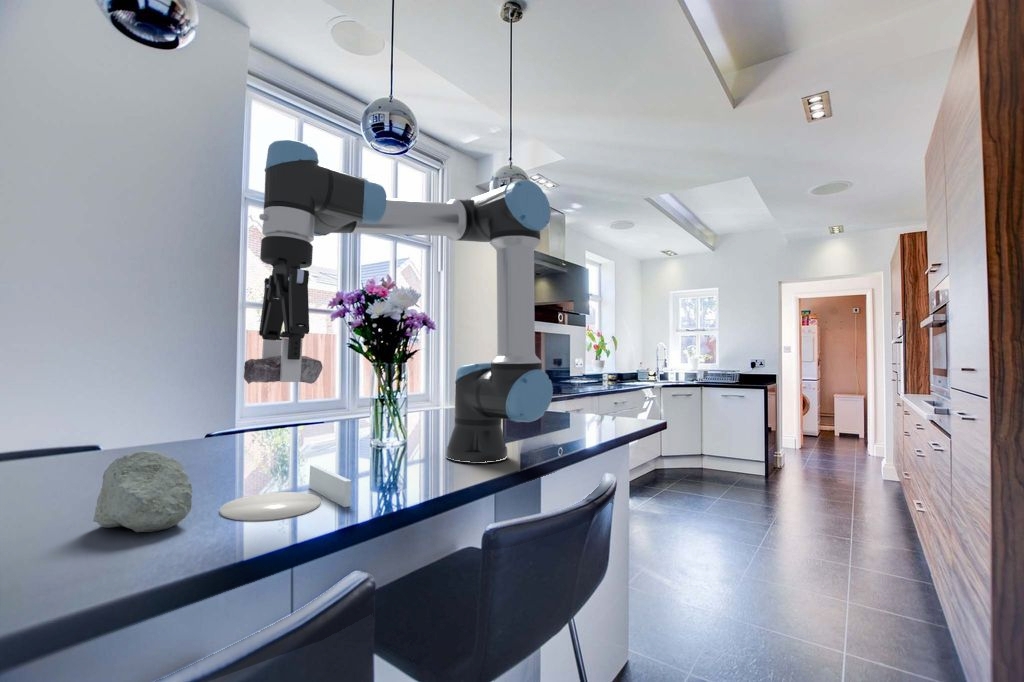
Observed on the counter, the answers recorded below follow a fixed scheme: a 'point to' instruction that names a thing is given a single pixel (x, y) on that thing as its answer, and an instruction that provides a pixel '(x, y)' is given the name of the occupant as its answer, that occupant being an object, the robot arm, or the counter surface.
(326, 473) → the divider wall
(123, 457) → the decorative stone
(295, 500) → the pad
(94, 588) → the counter surface
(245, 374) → the rock
